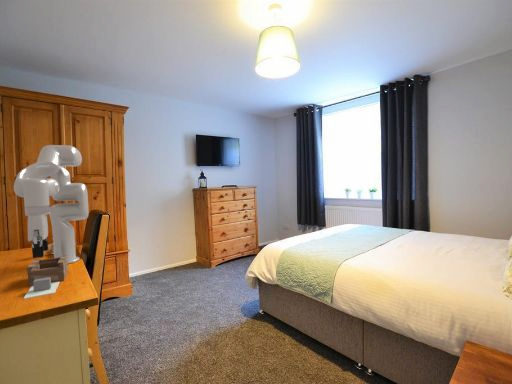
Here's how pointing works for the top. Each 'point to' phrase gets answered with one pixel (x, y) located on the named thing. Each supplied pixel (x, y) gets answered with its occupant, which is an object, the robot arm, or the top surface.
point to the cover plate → (41, 293)
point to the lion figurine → (50, 248)
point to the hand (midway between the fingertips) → (40, 253)
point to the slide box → (48, 269)
